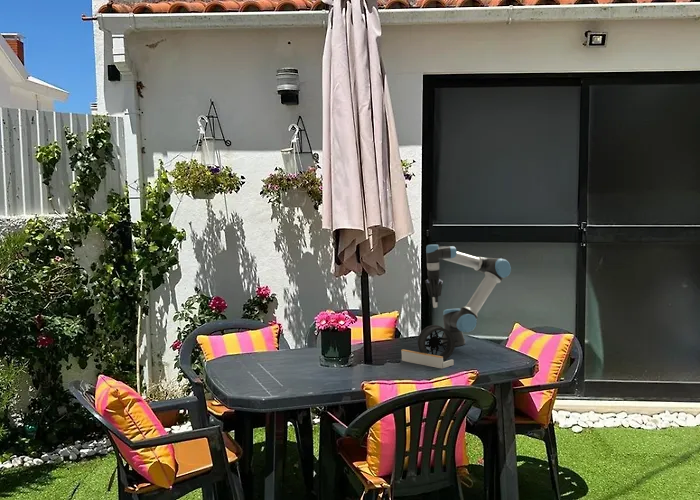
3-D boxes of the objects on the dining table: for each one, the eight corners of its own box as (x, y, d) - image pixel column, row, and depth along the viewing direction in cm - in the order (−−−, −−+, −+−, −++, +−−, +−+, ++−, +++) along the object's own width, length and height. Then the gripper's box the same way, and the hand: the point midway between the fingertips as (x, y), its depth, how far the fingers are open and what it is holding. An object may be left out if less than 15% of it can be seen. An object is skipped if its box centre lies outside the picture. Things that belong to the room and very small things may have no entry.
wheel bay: (413, 357, 389) (413, 346, 389) (453, 365, 366) (453, 353, 366) (401, 360, 383) (401, 349, 382) (442, 368, 359) (441, 356, 359)
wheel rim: (449, 356, 387) (448, 323, 386) (455, 359, 378) (454, 326, 377) (418, 360, 382) (416, 326, 381) (423, 363, 373) (422, 329, 372)
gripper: (421, 270, 400) (423, 307, 402) (438, 270, 391) (440, 309, 393) (428, 268, 406) (430, 305, 407) (445, 269, 397) (447, 307, 398)
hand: (435, 307), depth 400 cm, fingers closed
